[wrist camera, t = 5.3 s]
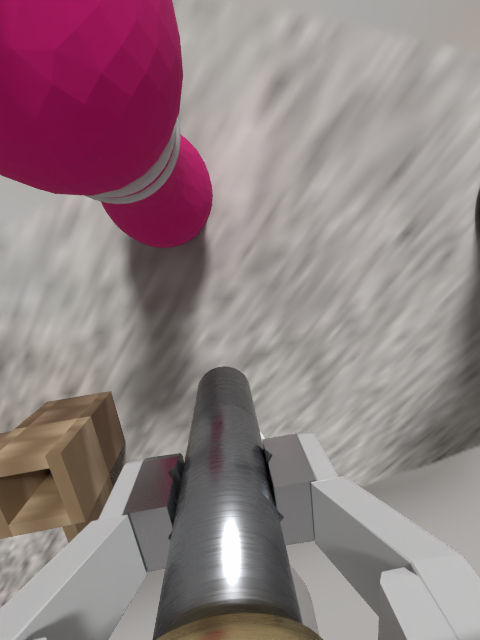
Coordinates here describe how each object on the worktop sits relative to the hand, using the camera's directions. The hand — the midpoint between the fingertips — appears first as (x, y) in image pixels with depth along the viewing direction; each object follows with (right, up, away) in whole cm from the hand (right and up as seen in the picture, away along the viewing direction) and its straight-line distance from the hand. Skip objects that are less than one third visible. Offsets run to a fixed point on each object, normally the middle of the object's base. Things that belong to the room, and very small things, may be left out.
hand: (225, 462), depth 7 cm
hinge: (-20, -13, +18) cm, 30 cm away
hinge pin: (0, +1, +4) cm, 4 cm away
